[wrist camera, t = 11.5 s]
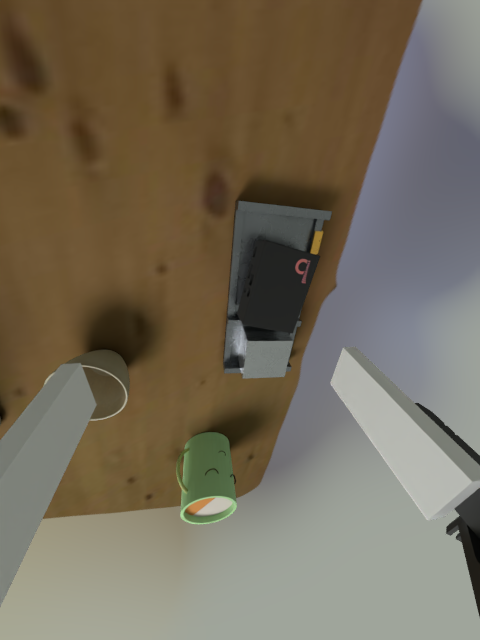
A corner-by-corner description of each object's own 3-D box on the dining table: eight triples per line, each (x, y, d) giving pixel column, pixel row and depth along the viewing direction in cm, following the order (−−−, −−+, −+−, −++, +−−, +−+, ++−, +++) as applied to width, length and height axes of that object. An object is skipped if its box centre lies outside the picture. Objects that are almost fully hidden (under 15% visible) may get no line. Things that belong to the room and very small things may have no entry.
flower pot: (145, 343, 35) (132, 374, 29) (134, 388, 39) (121, 424, 33) (73, 328, 32) (42, 359, 26) (69, 379, 36) (42, 416, 30)
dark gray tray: (235, 201, 27) (243, 200, 23) (325, 211, 30) (349, 212, 25) (222, 363, 39) (226, 386, 35) (288, 362, 42) (299, 382, 37)
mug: (239, 439, 51) (249, 501, 40) (211, 463, 53) (213, 527, 43) (194, 421, 45) (192, 486, 35) (165, 449, 48) (156, 517, 38)
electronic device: (236, 312, 33) (242, 325, 28) (255, 239, 30) (266, 240, 25) (280, 321, 35) (293, 334, 30) (303, 253, 31) (321, 256, 27)
